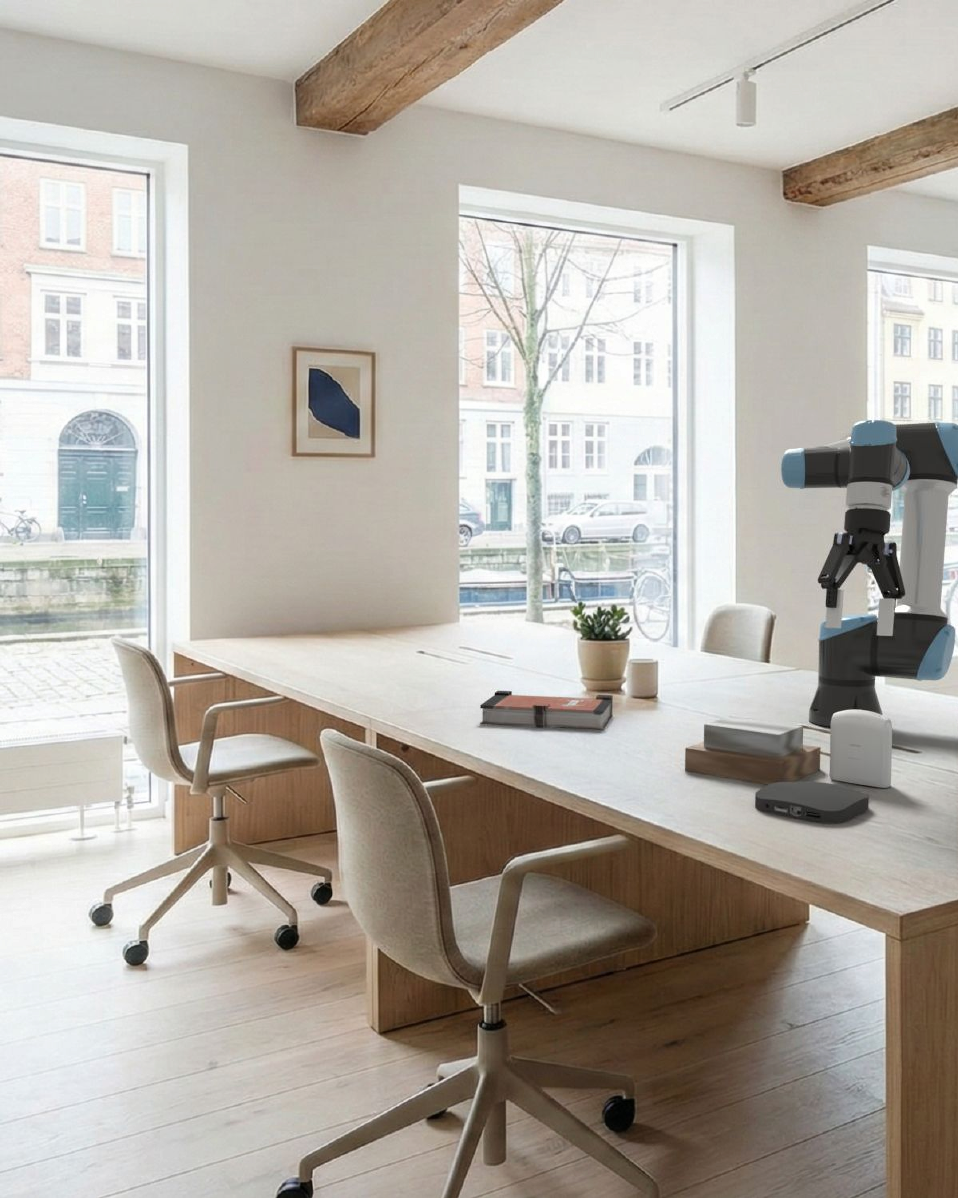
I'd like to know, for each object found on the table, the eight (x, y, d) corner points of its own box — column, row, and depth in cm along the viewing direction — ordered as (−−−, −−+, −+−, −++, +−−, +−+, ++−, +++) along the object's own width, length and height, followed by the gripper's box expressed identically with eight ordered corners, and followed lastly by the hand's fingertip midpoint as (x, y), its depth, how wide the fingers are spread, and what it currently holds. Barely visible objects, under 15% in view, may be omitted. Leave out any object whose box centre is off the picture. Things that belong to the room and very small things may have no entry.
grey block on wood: (727, 754, 208) (728, 712, 207) (819, 769, 196) (821, 724, 196) (684, 770, 195) (685, 725, 195) (781, 786, 184) (782, 739, 183)
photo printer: (825, 780, 189) (827, 708, 188) (836, 775, 192) (838, 705, 191) (884, 790, 182) (886, 716, 181) (895, 786, 185) (897, 712, 184)
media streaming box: (876, 808, 172) (877, 789, 172) (836, 829, 161) (837, 809, 161) (789, 792, 182) (789, 774, 181) (745, 811, 171) (745, 791, 171)
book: (479, 726, 236) (479, 703, 236) (497, 712, 253) (497, 690, 253) (602, 732, 230) (602, 709, 230) (612, 717, 247) (612, 695, 247)
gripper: (837, 496, 183) (828, 624, 181) (931, 519, 196) (923, 639, 195) (802, 500, 189) (792, 624, 188) (895, 522, 202) (887, 638, 201)
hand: (859, 632), depth 191 cm, fingers open, 13 cm apart
